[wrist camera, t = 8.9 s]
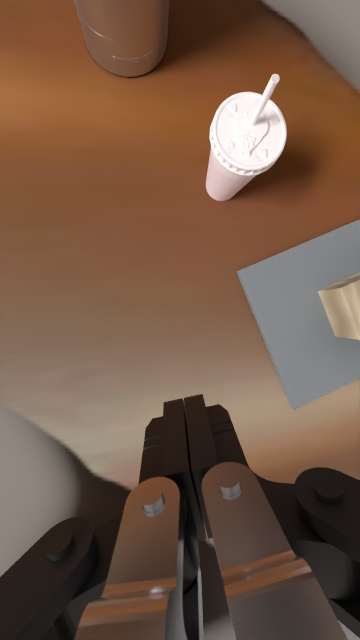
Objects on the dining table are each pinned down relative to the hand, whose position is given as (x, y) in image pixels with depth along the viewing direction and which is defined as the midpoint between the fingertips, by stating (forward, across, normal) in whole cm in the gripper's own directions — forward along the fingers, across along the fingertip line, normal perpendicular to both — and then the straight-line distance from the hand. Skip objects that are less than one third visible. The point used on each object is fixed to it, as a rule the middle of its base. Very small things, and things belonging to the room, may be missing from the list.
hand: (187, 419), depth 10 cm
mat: (+23, -22, +4) cm, 32 cm away
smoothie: (+26, -8, -12) cm, 30 cm away
